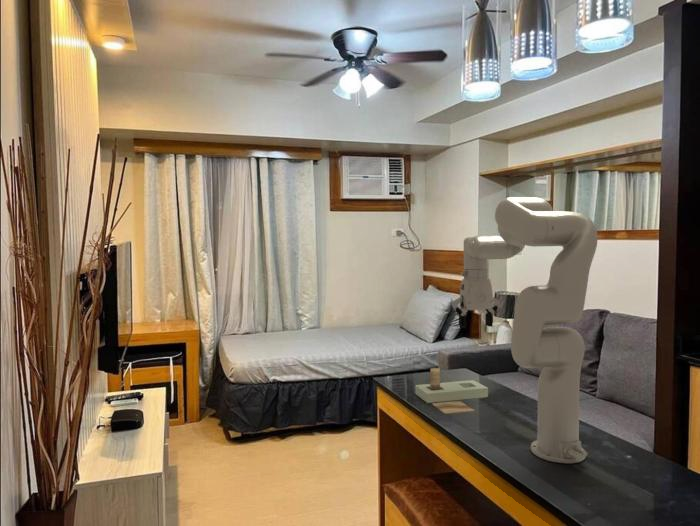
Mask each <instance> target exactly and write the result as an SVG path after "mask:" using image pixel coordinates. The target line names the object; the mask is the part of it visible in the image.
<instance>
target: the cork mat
mask: <svg viewBox="0 0 700 526" xmlns="http://www.w3.org/2000/svg"><path fill="white" fill-rule="evenodd" d="M431 405H433V406H434V407H435V408H437V409H438V410H439V411H441V412H442V413H443V414H444V415H447V414H448V415H450V414H457V413H467V412H475V411H476V410H474V409H473V408H472V407H470V406H468V405H467V404H465V403H464V402H463V401H462V400H453V401H443V402H433V403H431Z"/></svg>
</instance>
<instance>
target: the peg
mask: <svg viewBox="0 0 700 526" xmlns="http://www.w3.org/2000/svg"><path fill="white" fill-rule="evenodd" d="M429 374H430V375H429V376H430V378H429V379H430V380H429V381H430V383H429V384H430V390H431V391H434V390H440V383H441V368H439V367H432V368H430V372H429Z"/></svg>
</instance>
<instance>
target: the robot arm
mask: <svg viewBox="0 0 700 526" xmlns="http://www.w3.org/2000/svg"><path fill="white" fill-rule="evenodd" d="M494 212H495V213H494V217H495V218H494V219H495V223H496V224H497V232H498V235H496V234H495V235H493V234H492V235H490V234H489V235H488V234H487V235H474V236H469V237H465V238H464V240H463V271H461V272H460V276H462V277H463V278H462V280H461V283H460V291H459V297H458V298H456V299H455V300H453V301H452V302H451V303H450V304H451V306H452V308H453V311H454V312H455V313H456V314H457V315H458V325H459V327H460V328H461V329H467V316H466V313H467V312H468V311H481V310H484V311H485V312H486V313H485V315H484V317H485V326H487V327H493V323H494V315H495V314H496V313H495V312H496V311H497V309H498V308H499V307H498V306H499V305H500V302H501V301H500V300H499V299H498V298H496V297H494V295H493V287H492V286H493V285H492V282H491V278H488V276H489V275H488V260H507V259H511V258H513V257H515V256H517V255H519V254H520V253H521V252H522V251H523V250H524V248H525V246H528V247H535V248H536V247H537V248H538V247H562V249H561V251H560V252H558V254H557V255H556V256H555V258H554V260H553V262H552V264H551V266H550V270H549V279H548V282H547V284H546V285H530V286H527V287H526V288H523V289H522V290H521V292H519V294H518V296H517V299H516V301H515V307H514V316H513V323H512V331H511V340H510V351H511V355H512V358H513V361H514V362H515V363H516V364H517V366H519V367H521V368H524V369H539V368H542V370H541V372H540V374H539V377H538V381H537V436H536V437H537V438H536V440H534V441H533V442H531V443H530V450H531V451H530V452H532V453H533V454H534V455H535V456H536V457H538V458H539V459H542V460H545V461H548V462H552V463H559V464H576V463H581V462H583V461H584V460H585V459H586V457H587V456H588V452H587V450H585V449H584V448H583V447H582V441H581V440H580V439H579V438H580V383H581V379H580V378H581V371H582V366H583V365H582V364H583V360H584V356H585V350H586V349H585V348H586V347H585V341H584V338H583V336H582V335H581V334H580V332H578V331H577V330H575V329H574V328H571V327H568V326H556V325H567V324H568V325H569V324H573V323H576V322H578V321H580V320H581V318H582V316H583V314H584V308H585V302H586V295H587V290H588V283H589V277H590V276H589V275H590V270H591V266H592V263H593V261H594V257H595V254H596V251H597V247H598V231H597V227H596V224H595V223H594V221H593V220H592V219H591V218H590V217H589V216H587V215H586V214H584V213H580V212H576V211H568V210H567V211H563V210H561V211H560V210H559V211H558V210H555V211H554V209H553V208H552V205H551V204H550V203H549V202H548V201H547V200H545V199H544V198H540V197H535V196H533V197H532V196H530V197H529V196H527V197H526V196H525V197H524V196H510V197H506V198H503V199H502V200H501V201H500V202H499V203H497V206H496V208H495V211H494ZM459 307H460V308H459ZM551 325H553V326H551ZM554 325H555V326H554ZM544 326H545V327H544ZM546 326H549V327H546Z"/></svg>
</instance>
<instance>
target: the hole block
mask: <svg viewBox="0 0 700 526" xmlns="http://www.w3.org/2000/svg"><path fill="white" fill-rule="evenodd" d="M414 389H415V395H416V396H418V397H419V398H420V399H421V400H423V401H424V402H425V403H426V404H432V403H442V402H452V401H462V400H463V401H464V400H469V399H472V400H473V399H480V398H481V399H483V398H488V397H489V387H487V386H485V385H483V384H482V383H480V382H478V381H475V380H474V379H471V380H460V381H458V380H457V381H446V382H440V390H434V391H431V390H430V383H426V384H425V383H424V384H416V385H415V388H414Z"/></svg>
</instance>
